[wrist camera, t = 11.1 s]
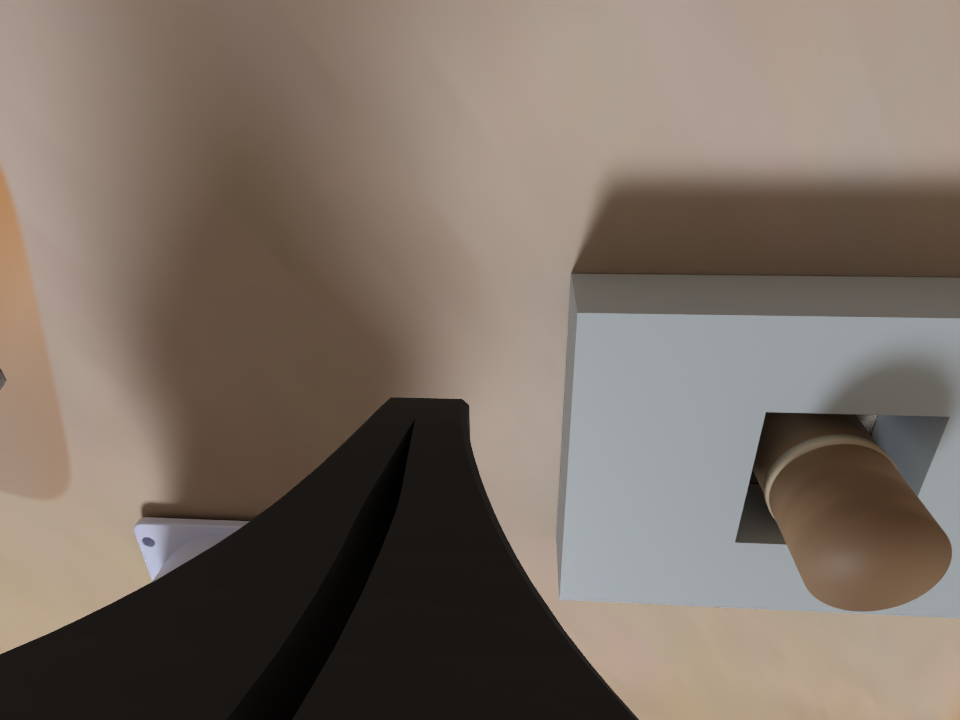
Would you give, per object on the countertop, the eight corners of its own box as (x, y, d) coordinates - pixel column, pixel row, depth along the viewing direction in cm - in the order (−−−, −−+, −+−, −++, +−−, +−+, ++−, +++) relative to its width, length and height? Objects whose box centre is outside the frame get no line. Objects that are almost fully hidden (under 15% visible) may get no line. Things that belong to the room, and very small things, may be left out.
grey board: (984, 554, 24) (1041, 621, 21) (556, 538, 25) (559, 599, 22) (1121, 279, 18) (1220, 322, 16) (571, 273, 19) (577, 312, 17)
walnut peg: (869, 389, 21) (979, 517, 15) (834, 477, 22) (921, 619, 17) (754, 379, 21) (823, 503, 16) (728, 468, 23) (782, 605, 17)
